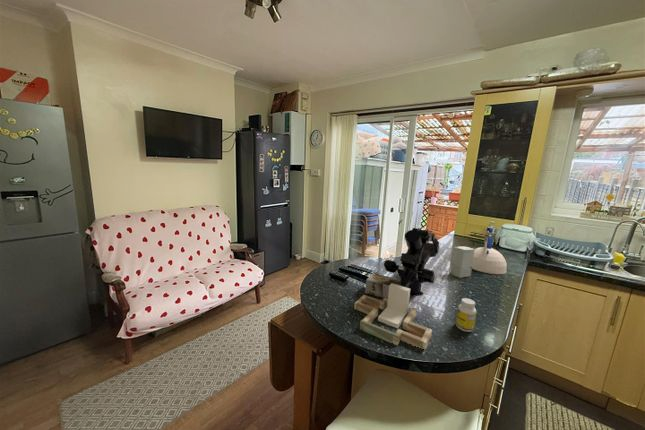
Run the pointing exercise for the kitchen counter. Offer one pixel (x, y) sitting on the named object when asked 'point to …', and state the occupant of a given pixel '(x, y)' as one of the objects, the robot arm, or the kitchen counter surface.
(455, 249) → the skincare box
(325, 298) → the kitchen counter surface
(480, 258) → the pale pink dome
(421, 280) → the robot arm
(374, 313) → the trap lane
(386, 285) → the coffee box
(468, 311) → the supplement bottle
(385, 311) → the bookend
